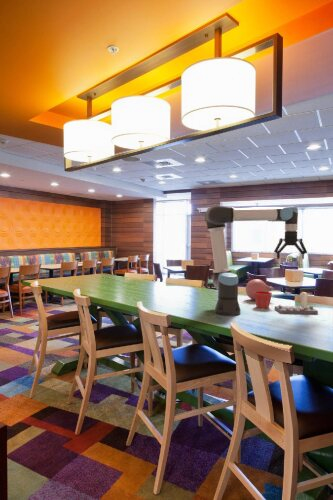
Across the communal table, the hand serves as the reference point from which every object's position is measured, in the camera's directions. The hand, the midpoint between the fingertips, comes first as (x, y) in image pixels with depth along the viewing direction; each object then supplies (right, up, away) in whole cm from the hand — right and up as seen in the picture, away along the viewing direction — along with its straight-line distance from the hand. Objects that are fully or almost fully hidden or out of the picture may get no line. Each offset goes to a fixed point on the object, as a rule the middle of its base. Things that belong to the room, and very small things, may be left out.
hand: (290, 264), depth 212 cm
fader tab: (+5, -27, -8) cm, 29 cm away
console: (0, -29, -8) cm, 30 cm away
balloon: (-12, -28, +28) cm, 41 cm away
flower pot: (-16, -29, +4) cm, 33 cm away
